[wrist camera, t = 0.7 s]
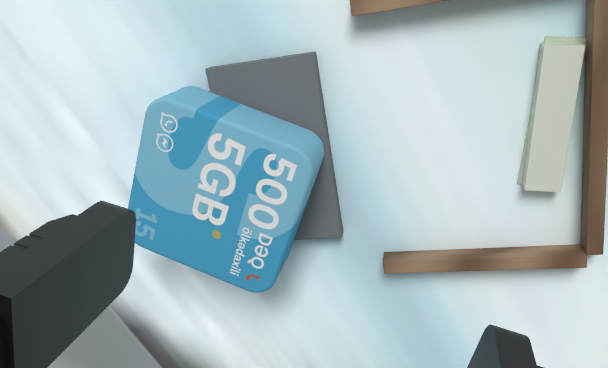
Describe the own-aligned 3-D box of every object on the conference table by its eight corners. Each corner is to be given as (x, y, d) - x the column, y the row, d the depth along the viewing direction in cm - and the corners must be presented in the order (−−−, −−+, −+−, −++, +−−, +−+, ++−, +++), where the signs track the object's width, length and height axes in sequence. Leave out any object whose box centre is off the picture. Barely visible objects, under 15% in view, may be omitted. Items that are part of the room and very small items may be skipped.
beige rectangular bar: (585, 36, 32) (595, 39, 30) (553, 182, 36) (560, 193, 34) (538, 34, 32) (545, 37, 31) (511, 179, 36) (516, 189, 34)
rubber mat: (315, 51, 35) (312, 53, 34) (343, 231, 40) (341, 237, 39) (210, 67, 37) (205, 69, 36) (248, 236, 42) (244, 242, 41)
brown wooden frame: (607, -46, 29) (615, -47, 28) (595, 256, 36) (602, 267, 35) (352, -2, 33) (349, -1, 32) (385, 263, 40) (384, 273, 39)
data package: (147, 91, 33) (319, 157, 32) (178, 78, 37) (331, 137, 36) (121, 240, 38) (268, 300, 37) (150, 214, 42) (283, 268, 41)
